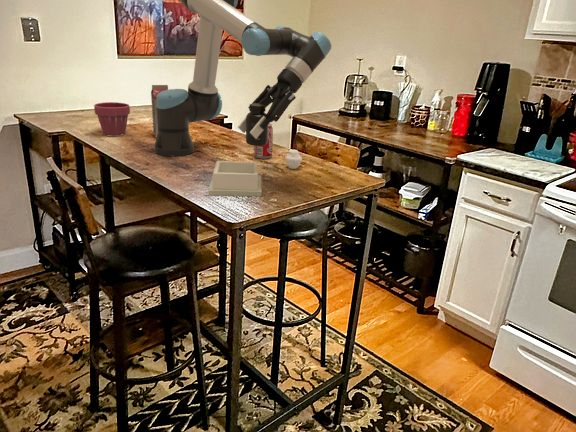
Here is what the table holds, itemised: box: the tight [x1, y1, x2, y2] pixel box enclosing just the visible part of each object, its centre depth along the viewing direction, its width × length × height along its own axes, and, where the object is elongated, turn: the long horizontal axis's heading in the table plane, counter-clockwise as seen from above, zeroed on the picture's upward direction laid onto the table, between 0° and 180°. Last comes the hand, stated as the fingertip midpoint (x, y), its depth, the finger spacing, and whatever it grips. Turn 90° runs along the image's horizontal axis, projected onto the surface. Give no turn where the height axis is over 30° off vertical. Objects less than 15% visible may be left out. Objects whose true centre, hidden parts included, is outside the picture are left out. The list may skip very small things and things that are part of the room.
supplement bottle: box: [245, 102, 268, 147], centre depth 142 cm, size 7×7×12 cm
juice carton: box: [150, 84, 169, 138], centre depth 201 cm, size 7×7×22 cm
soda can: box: [253, 122, 274, 160], centre depth 180 cm, size 7×7×13 cm
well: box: [208, 160, 263, 197], centre depth 148 cm, size 16×16×6 cm
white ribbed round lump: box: [284, 149, 303, 170], centre depth 171 cm, size 6×6×7 cm
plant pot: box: [93, 101, 131, 136], centre depth 202 cm, size 14×14×13 cm
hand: (246, 132), depth 141 cm, fingers closed on supplement bottle, 7 cm apart
